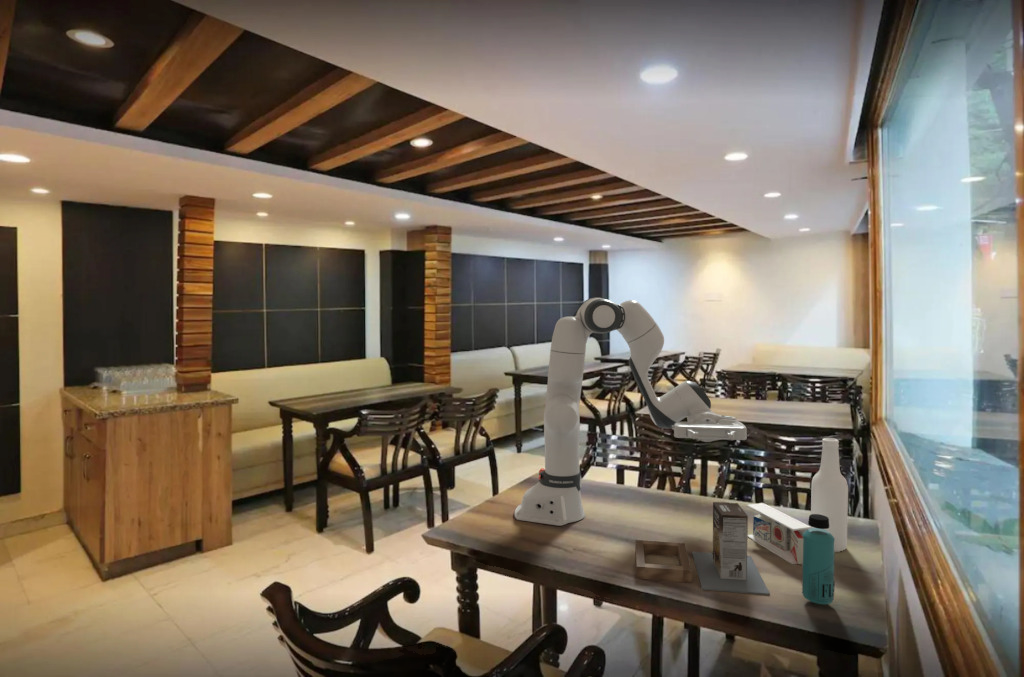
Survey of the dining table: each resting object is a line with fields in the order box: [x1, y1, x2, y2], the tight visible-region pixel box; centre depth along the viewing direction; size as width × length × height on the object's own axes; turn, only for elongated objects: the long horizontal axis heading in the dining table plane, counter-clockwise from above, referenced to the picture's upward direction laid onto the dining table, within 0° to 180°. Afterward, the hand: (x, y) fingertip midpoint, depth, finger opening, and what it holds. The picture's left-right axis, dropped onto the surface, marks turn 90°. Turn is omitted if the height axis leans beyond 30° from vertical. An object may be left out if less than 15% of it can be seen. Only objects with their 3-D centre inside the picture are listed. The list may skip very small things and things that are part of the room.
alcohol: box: [810, 437, 849, 553], centre depth 156 cm, size 9×9×30 cm
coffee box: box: [712, 501, 749, 580], centre depth 141 cm, size 9×6×16 cm
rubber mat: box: [691, 551, 771, 596], centre depth 142 cm, size 15×20×1 cm
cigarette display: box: [746, 502, 811, 565], centre depth 155 cm, size 20×6×9 cm, turn 14°
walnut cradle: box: [634, 539, 693, 584], centre depth 146 cm, size 13×16×3 cm
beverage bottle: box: [801, 513, 836, 605], centre depth 126 cm, size 6×7×20 cm
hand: (713, 436), depth 159 cm, fingers open, 8 cm apart
